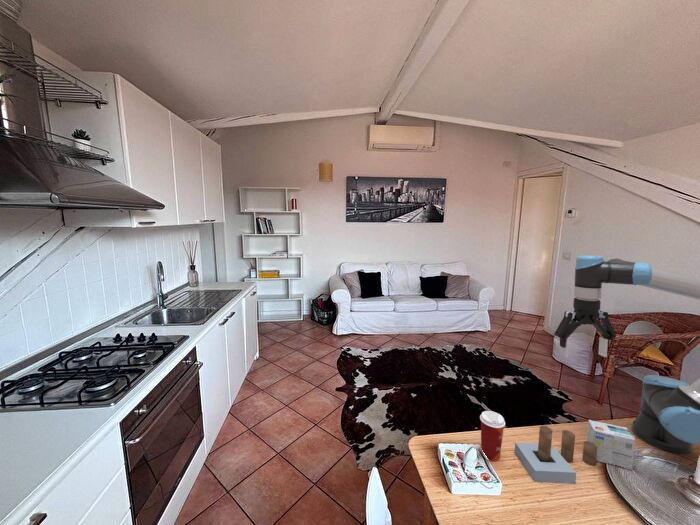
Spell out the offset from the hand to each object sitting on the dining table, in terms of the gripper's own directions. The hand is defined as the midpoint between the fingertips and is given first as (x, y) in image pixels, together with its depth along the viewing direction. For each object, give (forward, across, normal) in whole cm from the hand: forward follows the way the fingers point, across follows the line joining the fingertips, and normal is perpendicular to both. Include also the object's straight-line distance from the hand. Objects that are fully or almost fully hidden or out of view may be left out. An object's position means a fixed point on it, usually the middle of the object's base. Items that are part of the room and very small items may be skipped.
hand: (583, 355), depth 106 cm
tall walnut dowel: (+31, +23, +15) cm, 41 cm away
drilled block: (+31, +23, +15) cm, 41 cm away
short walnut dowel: (+31, +6, +13) cm, 34 cm away
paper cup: (+30, +38, +11) cm, 50 cm away
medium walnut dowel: (+31, +13, +12) cm, 35 cm away
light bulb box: (+31, -1, +11) cm, 33 cm away
